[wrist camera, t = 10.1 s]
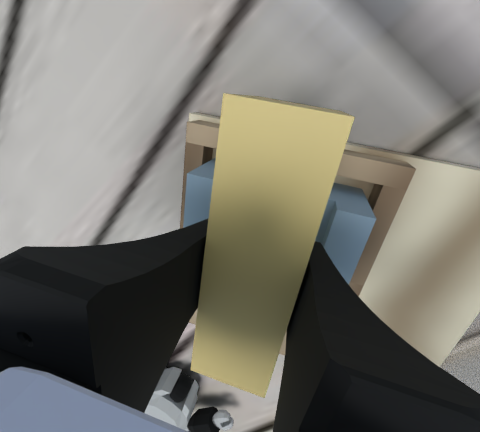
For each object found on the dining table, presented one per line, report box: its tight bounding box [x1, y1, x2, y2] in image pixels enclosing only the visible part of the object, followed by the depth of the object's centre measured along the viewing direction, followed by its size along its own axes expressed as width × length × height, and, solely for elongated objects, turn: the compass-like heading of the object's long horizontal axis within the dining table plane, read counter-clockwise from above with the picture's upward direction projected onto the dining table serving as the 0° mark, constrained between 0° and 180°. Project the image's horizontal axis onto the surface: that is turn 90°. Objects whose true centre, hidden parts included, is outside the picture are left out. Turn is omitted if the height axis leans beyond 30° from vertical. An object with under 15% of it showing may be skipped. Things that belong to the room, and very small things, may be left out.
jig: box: [180, 112, 480, 367], centre depth 16 cm, size 18×16×2 cm
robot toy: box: [144, 367, 234, 432], centre depth 27 cm, size 12×4×15 cm
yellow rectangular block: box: [191, 93, 355, 398], centre depth 10 cm, size 10×3×4 cm, turn 170°
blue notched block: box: [183, 158, 376, 284], centre depth 14 cm, size 8×4×4 cm, turn 80°
